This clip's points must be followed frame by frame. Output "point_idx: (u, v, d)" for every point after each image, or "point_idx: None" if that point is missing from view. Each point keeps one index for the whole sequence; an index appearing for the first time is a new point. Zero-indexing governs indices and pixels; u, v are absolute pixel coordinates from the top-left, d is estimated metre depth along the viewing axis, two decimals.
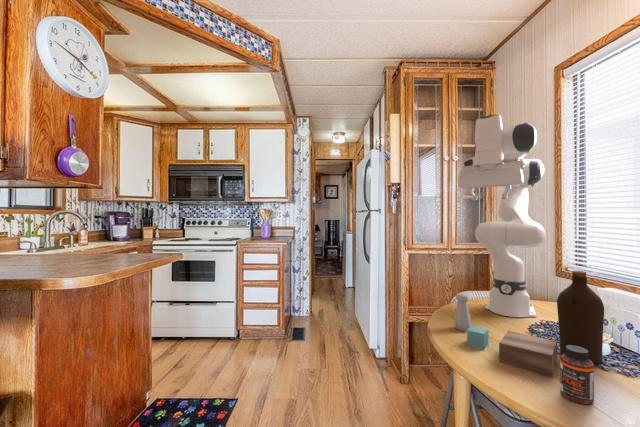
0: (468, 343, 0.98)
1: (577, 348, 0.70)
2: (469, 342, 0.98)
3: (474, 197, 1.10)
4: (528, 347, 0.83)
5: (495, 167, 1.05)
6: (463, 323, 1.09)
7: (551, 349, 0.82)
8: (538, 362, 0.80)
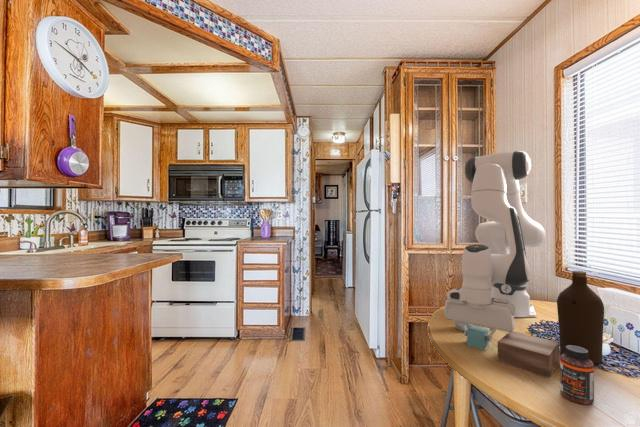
0: (468, 342, 0.98)
1: (577, 348, 0.70)
2: (469, 342, 0.98)
3: (466, 333, 1.00)
4: (526, 347, 0.83)
5: (483, 307, 0.95)
6: None
7: (550, 349, 0.82)
8: (536, 362, 0.80)
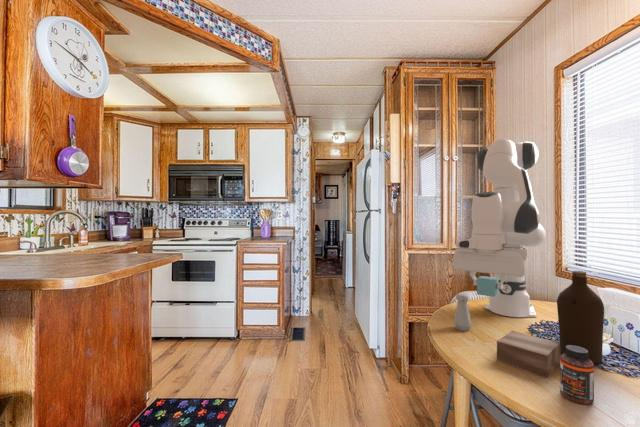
0: (478, 291, 0.95)
1: (577, 348, 0.70)
2: (479, 290, 0.95)
3: (476, 283, 0.97)
4: (525, 346, 0.84)
5: (494, 253, 0.93)
6: (463, 323, 1.09)
7: (549, 350, 0.82)
8: (534, 362, 0.80)
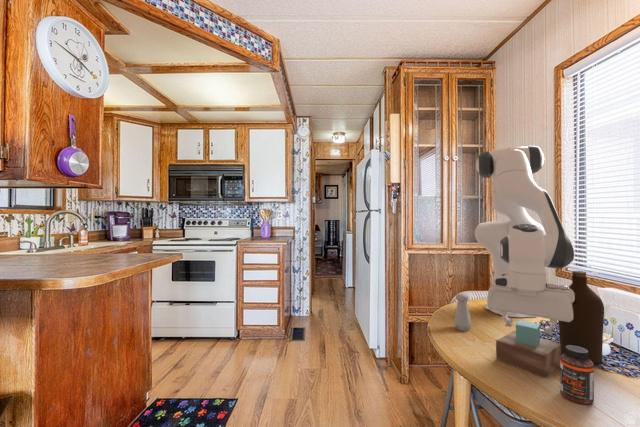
0: (517, 339, 0.86)
1: (577, 348, 0.70)
2: (518, 338, 0.86)
3: (508, 323, 0.89)
4: (524, 346, 0.84)
5: (536, 294, 0.84)
6: (463, 323, 1.09)
7: (549, 350, 0.81)
8: (532, 362, 0.81)
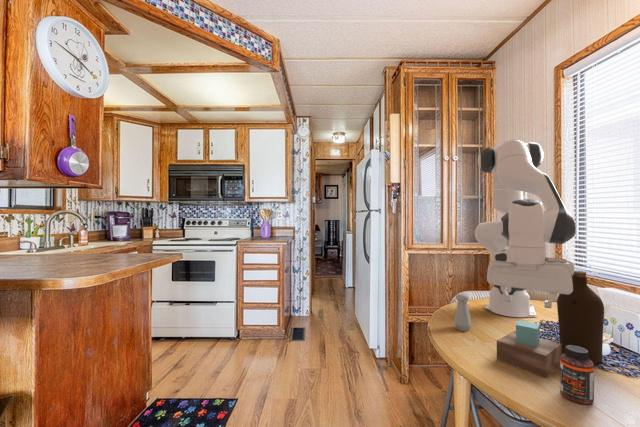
0: (518, 339, 0.86)
1: (577, 348, 0.70)
2: (518, 338, 0.86)
3: (508, 298, 0.90)
4: (525, 346, 0.84)
5: (536, 268, 0.84)
6: (463, 323, 1.09)
7: (549, 350, 0.81)
8: (533, 362, 0.81)
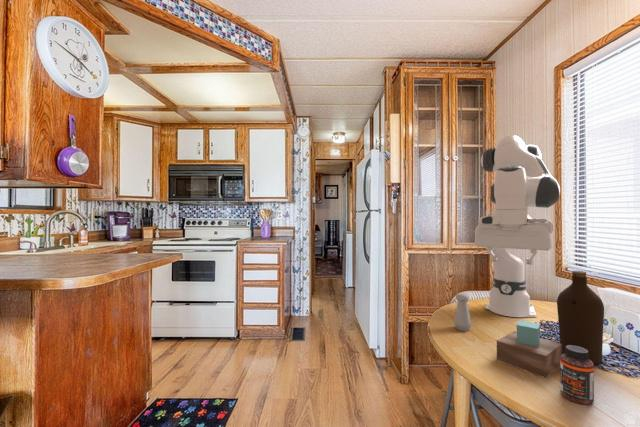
0: (518, 339, 0.86)
1: (577, 348, 0.70)
2: (519, 338, 0.86)
3: (493, 258, 0.97)
4: (525, 346, 0.84)
5: (519, 228, 0.92)
6: (463, 323, 1.09)
7: (549, 350, 0.81)
8: (533, 362, 0.81)
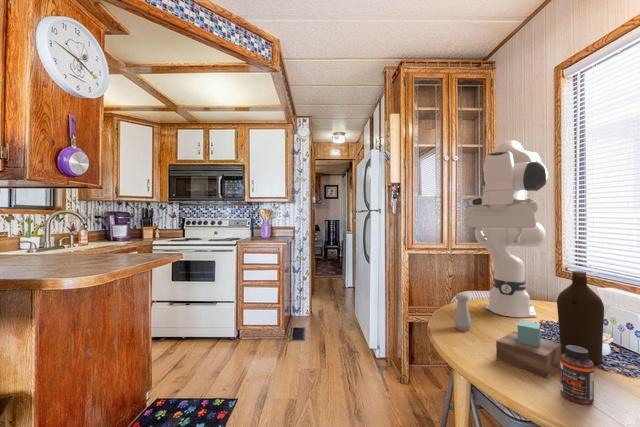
0: (519, 340, 0.86)
1: (577, 348, 0.70)
2: (520, 339, 0.86)
3: (483, 238, 1.04)
4: (524, 347, 0.84)
5: (506, 208, 0.98)
6: (463, 323, 1.09)
7: (549, 350, 0.81)
8: (533, 362, 0.80)
